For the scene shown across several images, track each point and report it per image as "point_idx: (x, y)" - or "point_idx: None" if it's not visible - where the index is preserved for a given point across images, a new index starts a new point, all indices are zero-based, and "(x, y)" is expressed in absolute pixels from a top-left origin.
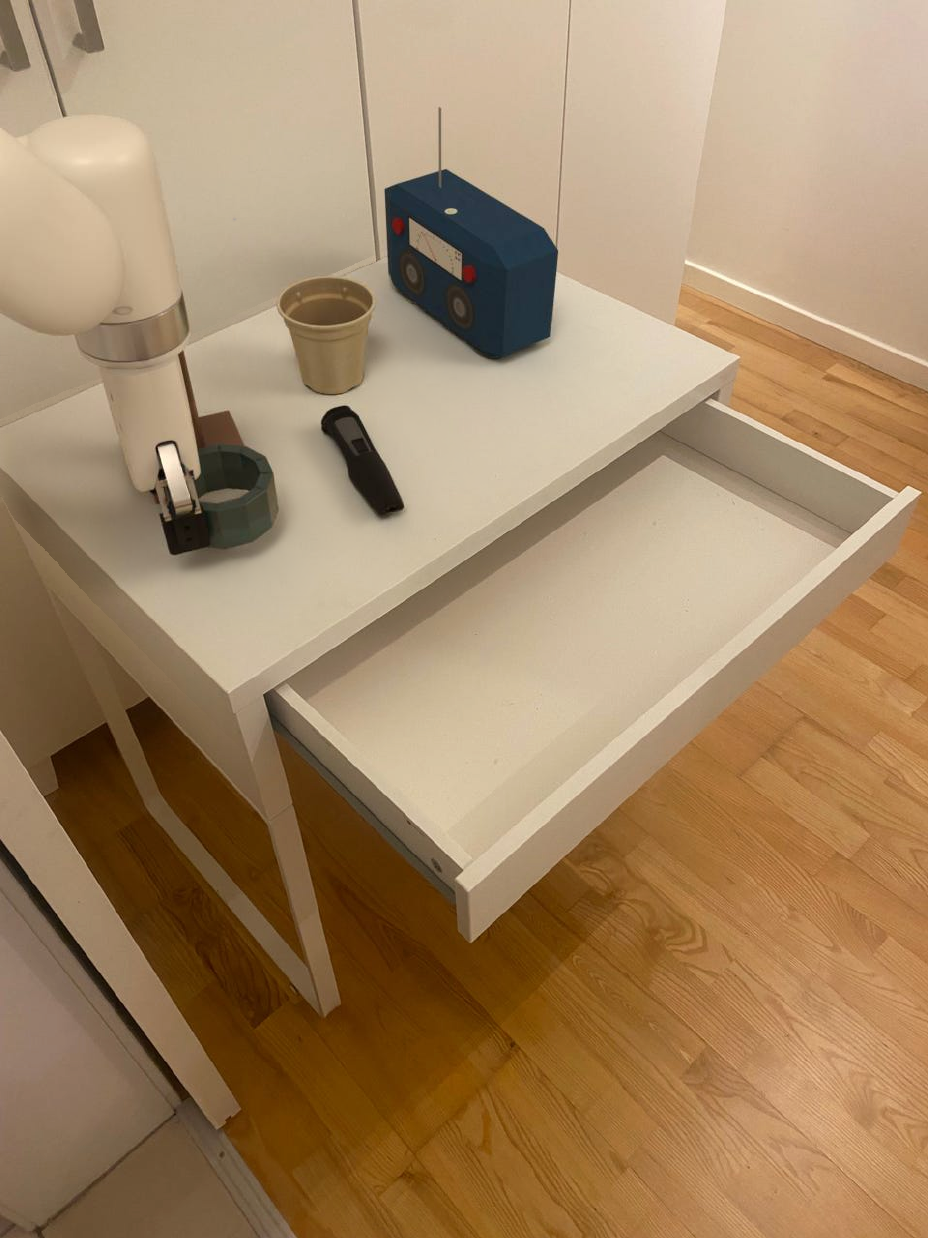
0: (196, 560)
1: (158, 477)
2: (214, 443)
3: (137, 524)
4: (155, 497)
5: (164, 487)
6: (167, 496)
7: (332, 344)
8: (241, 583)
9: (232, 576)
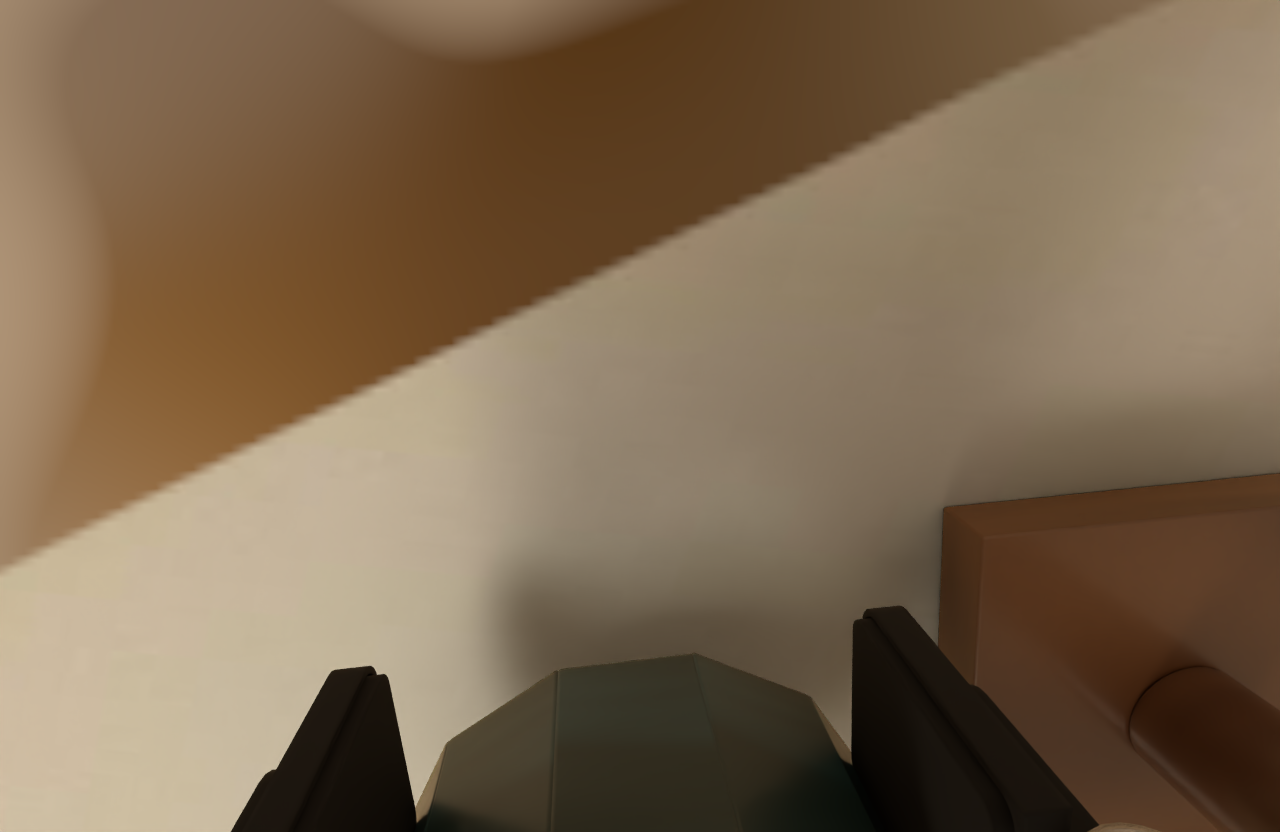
0: (551, 619)
1: (900, 733)
2: (1170, 797)
3: (847, 421)
4: (960, 525)
5: (865, 693)
6: (648, 813)
7: None
8: None
9: (424, 729)
